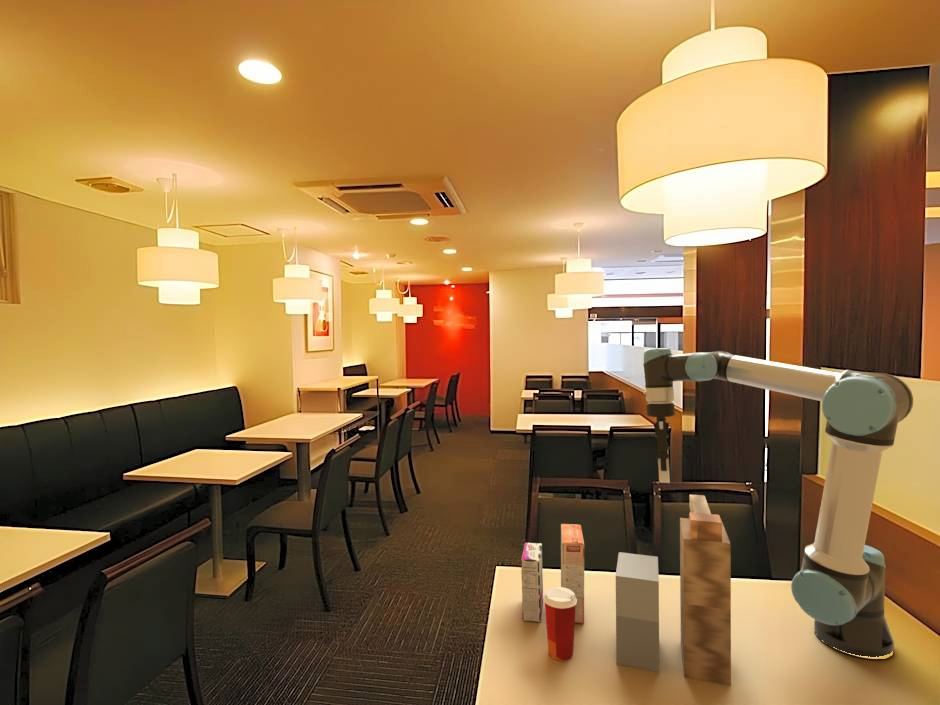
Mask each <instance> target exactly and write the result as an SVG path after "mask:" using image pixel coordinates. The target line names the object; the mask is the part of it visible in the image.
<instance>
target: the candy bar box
mask: <svg viewBox="0 0 940 705" xmlns="http://www.w3.org/2000/svg"><path fill="white" fill-rule="evenodd" d="M542 548H543V544H542V543H541V542H540V543H538V542H524V544H523V550H522V551H523V552H522V555H521V560H520V561H521V563H520V564H521V566H520V568H521V569H520V570H521V591H522V594H521V598H522V599H521V600H522V605H521V606H522V621H523V622H530V621H533V622H532V623H541V622H542V614H543V605H544V600H543V596H544V584H543V583H544V582H543V579H544V578H543V549H542Z"/></svg>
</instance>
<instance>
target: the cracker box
mask: <svg viewBox="0 0 940 705" xmlns="http://www.w3.org/2000/svg"><path fill="white" fill-rule="evenodd" d="M560 587H563V588H567V589H570V590H571V591H573V592H574V594H575V597H576V599H577V603H576V606H575V624H584V623H585V541H584V536H583V529H582V525H581V524H577V523H576V524H573V523H572V524H571V523H570V524H569V523H560Z"/></svg>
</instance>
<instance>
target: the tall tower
mask: <svg viewBox="0 0 940 705" xmlns="http://www.w3.org/2000/svg"><path fill="white" fill-rule="evenodd" d="M679 547H680V548H679V560H680V561H679V562H680V563H679V566H680V567H679V573H680V574H679V575H680V576H679V579H680V580H679V584H680V585H679V587H680V589H679V590H680V592H679V593H680V594H679V597H680V600H679V601H680V608H679V610H680V612H679V613H680V647H681V648H680V649H681V650H680V651H681V657H682V658H681V660H682V669H683V676H684V678H688V679H695V680H699V681H704V682H709V683H710V682H711V683H716V684H720V685H726V686H732V627H731V626H732V624H731V623H732V622H731V620H732V616H731V615H732V611H731V610H732V609H731V608H732V605H731V604H732V601H731V600H732V597H731V596H732V594H731V593H732V589H731V588H732V587H731V586H732V585H731V583H732V582H731V580H732V579H731V578H732V576H731V574H732V573H731V572H732V571H731V570H732V569H731V568H732V567H731V562H732V561H731V559H732V558H731V557H732V555H731V552H732V550H731V548H732V547H731V541H730V538H729V535H728V534H727V531H726V528H725V526H724V522H722V542H719V541H710V540H700V539H691V536H690V532H689V518H688V517H687V518H685V517H679Z"/></svg>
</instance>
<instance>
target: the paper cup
mask: <svg viewBox="0 0 940 705" xmlns="http://www.w3.org/2000/svg"><path fill="white" fill-rule="evenodd" d="M543 603H544V608H545V610H544V611H545V622H546V623H545V624H546V626H545V627H546V634H547V635H546V637H547V649H548V655H549V656H550V658H552V660H556V661H558V660H559V662H566V661H569V660H571V659H572V657H573V655H574V644H575V643H574V642H575V624H576V623H575V606H576V603H577V599H576V597H575V594H574V592H573V591H571V590H570V589H567V588H563V587H561V586H554V587H551V588H548V589H547V590H546V591H545V592H544V593H543Z"/></svg>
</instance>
